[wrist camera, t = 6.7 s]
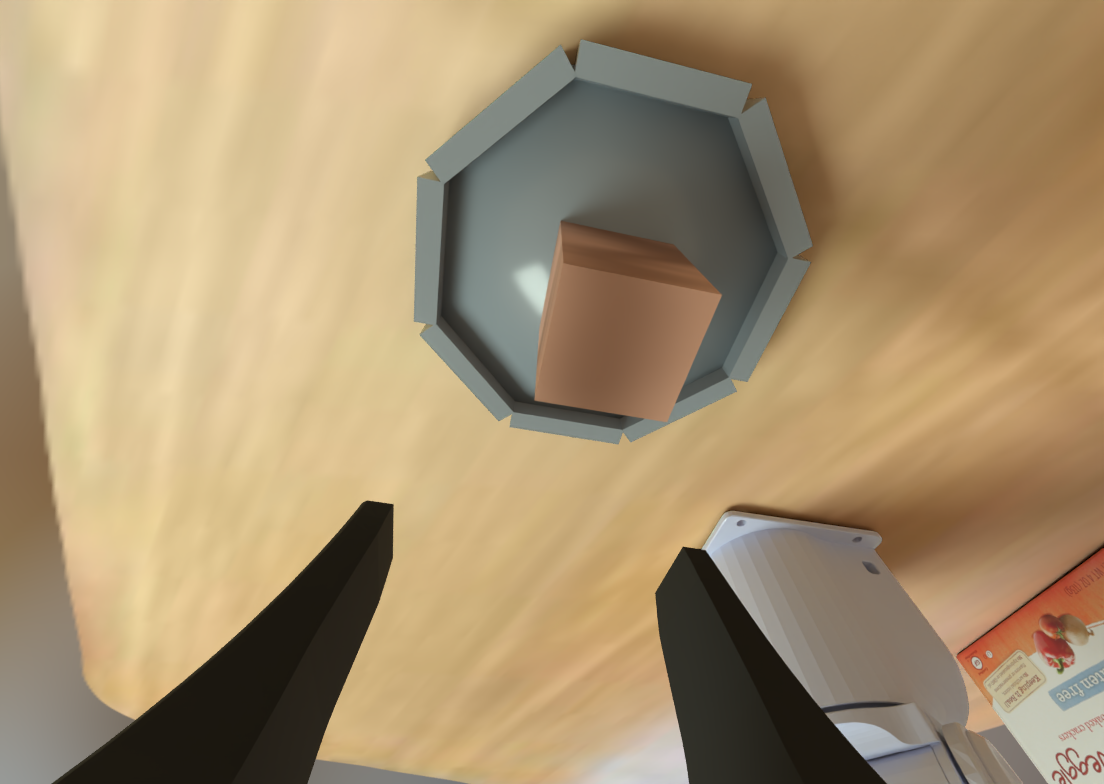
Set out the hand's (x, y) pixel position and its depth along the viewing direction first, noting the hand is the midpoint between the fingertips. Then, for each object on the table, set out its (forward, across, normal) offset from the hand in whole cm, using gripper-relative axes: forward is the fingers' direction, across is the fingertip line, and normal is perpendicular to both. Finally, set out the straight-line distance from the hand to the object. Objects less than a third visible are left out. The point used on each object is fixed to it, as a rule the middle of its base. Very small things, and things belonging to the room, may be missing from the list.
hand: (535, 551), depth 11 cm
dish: (+9, -1, -4) cm, 10 cm away
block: (+8, -1, -4) cm, 10 cm away
